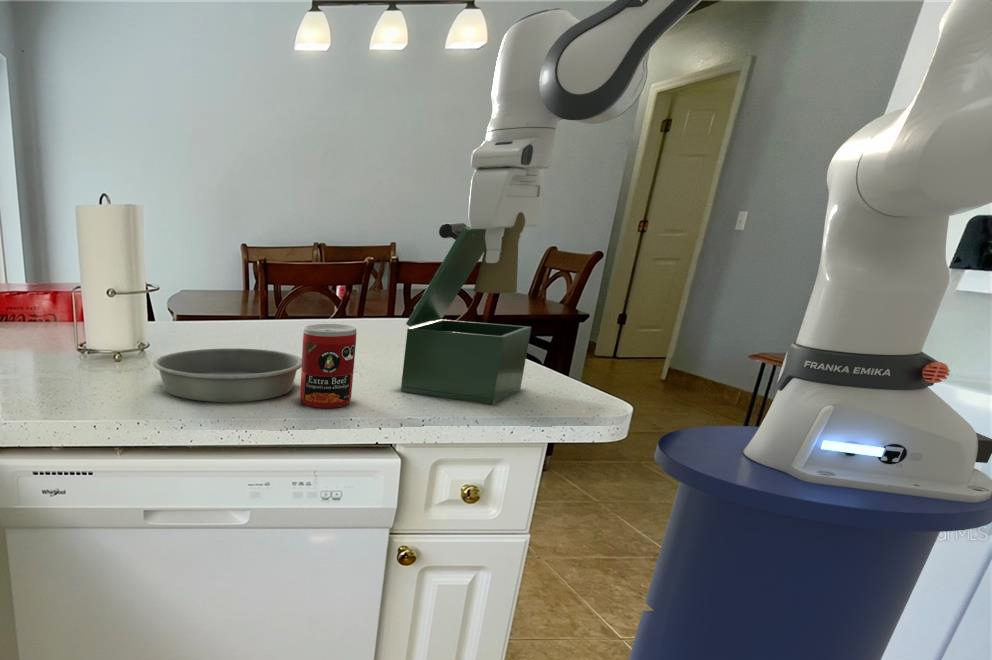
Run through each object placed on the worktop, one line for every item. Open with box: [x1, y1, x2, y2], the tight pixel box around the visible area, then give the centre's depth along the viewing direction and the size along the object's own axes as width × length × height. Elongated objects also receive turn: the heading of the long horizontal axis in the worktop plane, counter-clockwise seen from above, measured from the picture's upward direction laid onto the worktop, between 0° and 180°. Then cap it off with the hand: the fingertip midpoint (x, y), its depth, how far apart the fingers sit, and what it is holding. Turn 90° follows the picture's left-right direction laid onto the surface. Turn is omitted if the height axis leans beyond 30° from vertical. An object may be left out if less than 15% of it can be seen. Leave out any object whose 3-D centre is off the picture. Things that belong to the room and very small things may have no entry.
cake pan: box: [152, 347, 302, 403], centre depth 117 cm, size 25×25×4 cm
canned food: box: [299, 323, 357, 409], centre depth 106 cm, size 8×8×11 cm
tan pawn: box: [473, 212, 525, 294], centre depth 104 cm, size 6×6×11 cm
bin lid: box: [405, 222, 486, 328], centre depth 110 cm, size 16×13×5 cm
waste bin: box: [400, 318, 532, 406], centre depth 112 cm, size 15×13×10 cm
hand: (499, 261), depth 104 cm, fingers closed on tan pawn, 4 cm apart
